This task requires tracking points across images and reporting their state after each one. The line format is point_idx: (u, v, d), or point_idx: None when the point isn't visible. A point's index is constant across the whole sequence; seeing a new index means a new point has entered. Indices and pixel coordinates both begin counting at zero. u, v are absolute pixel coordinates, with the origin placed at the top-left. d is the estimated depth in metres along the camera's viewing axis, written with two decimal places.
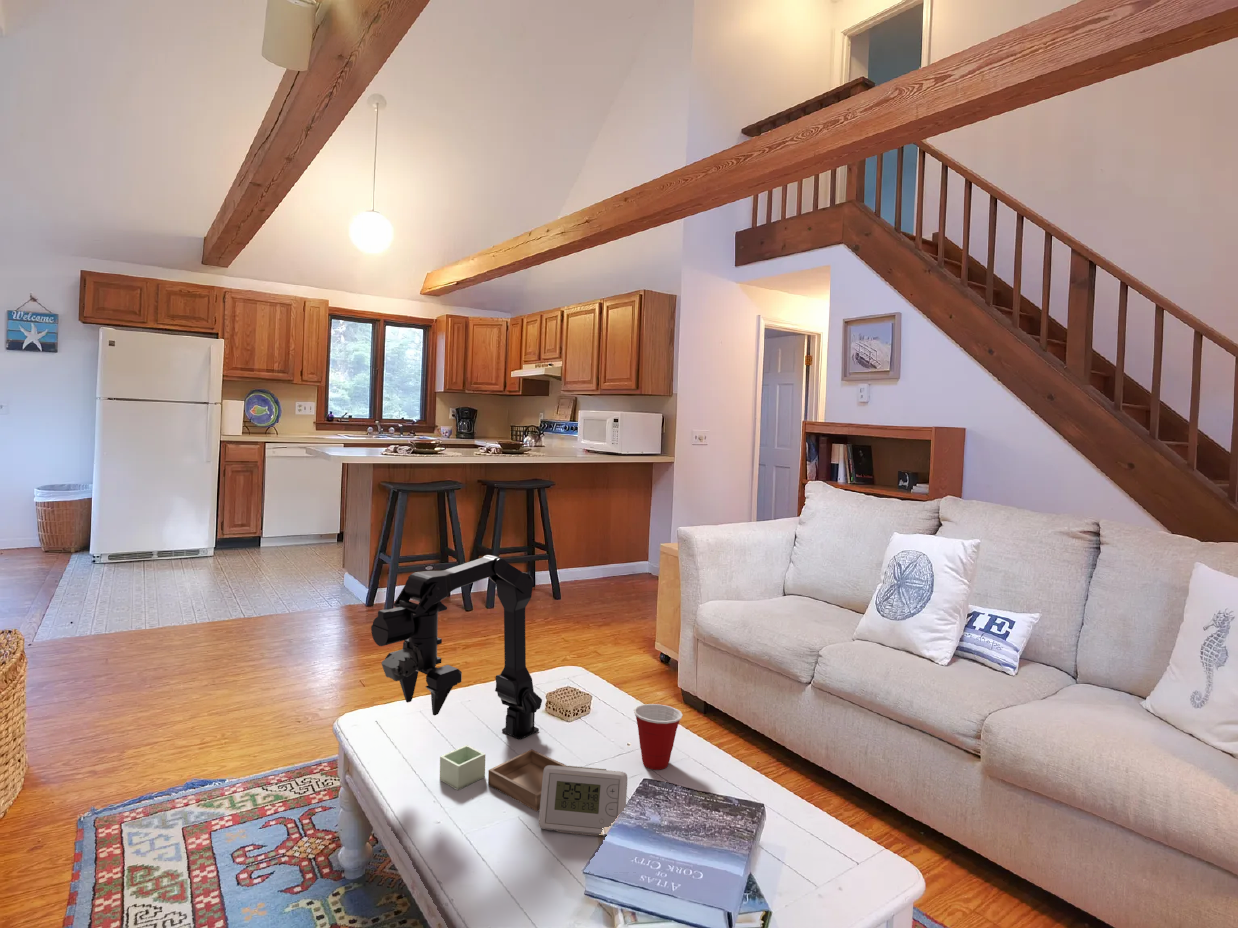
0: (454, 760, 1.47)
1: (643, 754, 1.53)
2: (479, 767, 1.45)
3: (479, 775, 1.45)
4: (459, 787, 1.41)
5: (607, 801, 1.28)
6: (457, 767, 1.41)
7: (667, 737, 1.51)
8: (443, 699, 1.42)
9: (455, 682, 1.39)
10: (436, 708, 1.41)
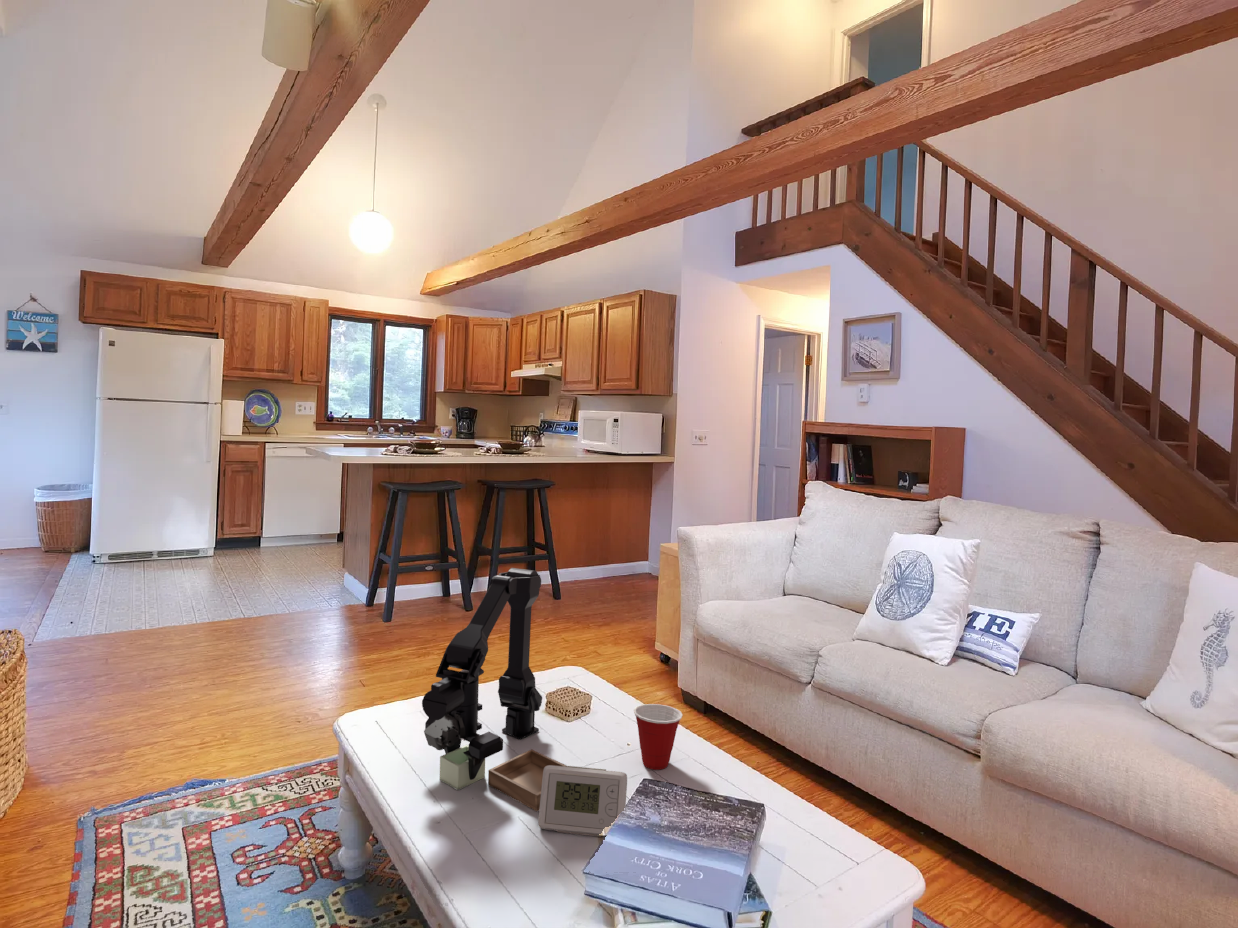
0: (454, 760, 1.47)
1: (643, 754, 1.53)
2: None
3: (479, 775, 1.45)
4: (459, 787, 1.41)
5: (607, 801, 1.28)
6: (457, 767, 1.41)
7: (667, 737, 1.51)
8: (480, 763, 1.43)
9: (497, 750, 1.40)
10: (473, 773, 1.43)
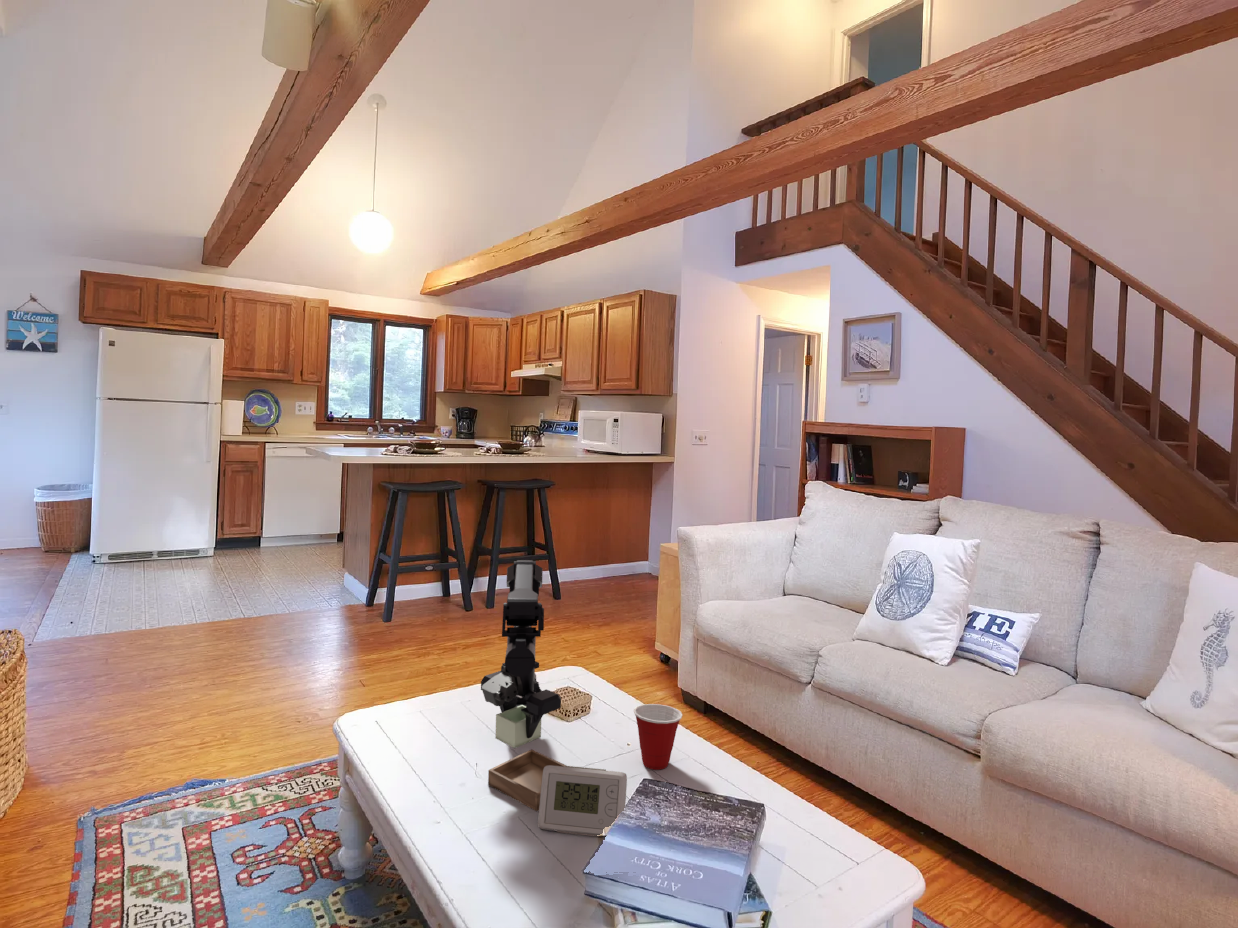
0: (510, 719, 1.44)
1: (643, 754, 1.53)
2: None
3: (535, 734, 1.43)
4: (516, 745, 1.39)
5: (606, 801, 1.28)
6: (514, 724, 1.39)
7: (667, 737, 1.51)
8: (537, 722, 1.41)
9: (555, 708, 1.37)
10: (530, 731, 1.40)
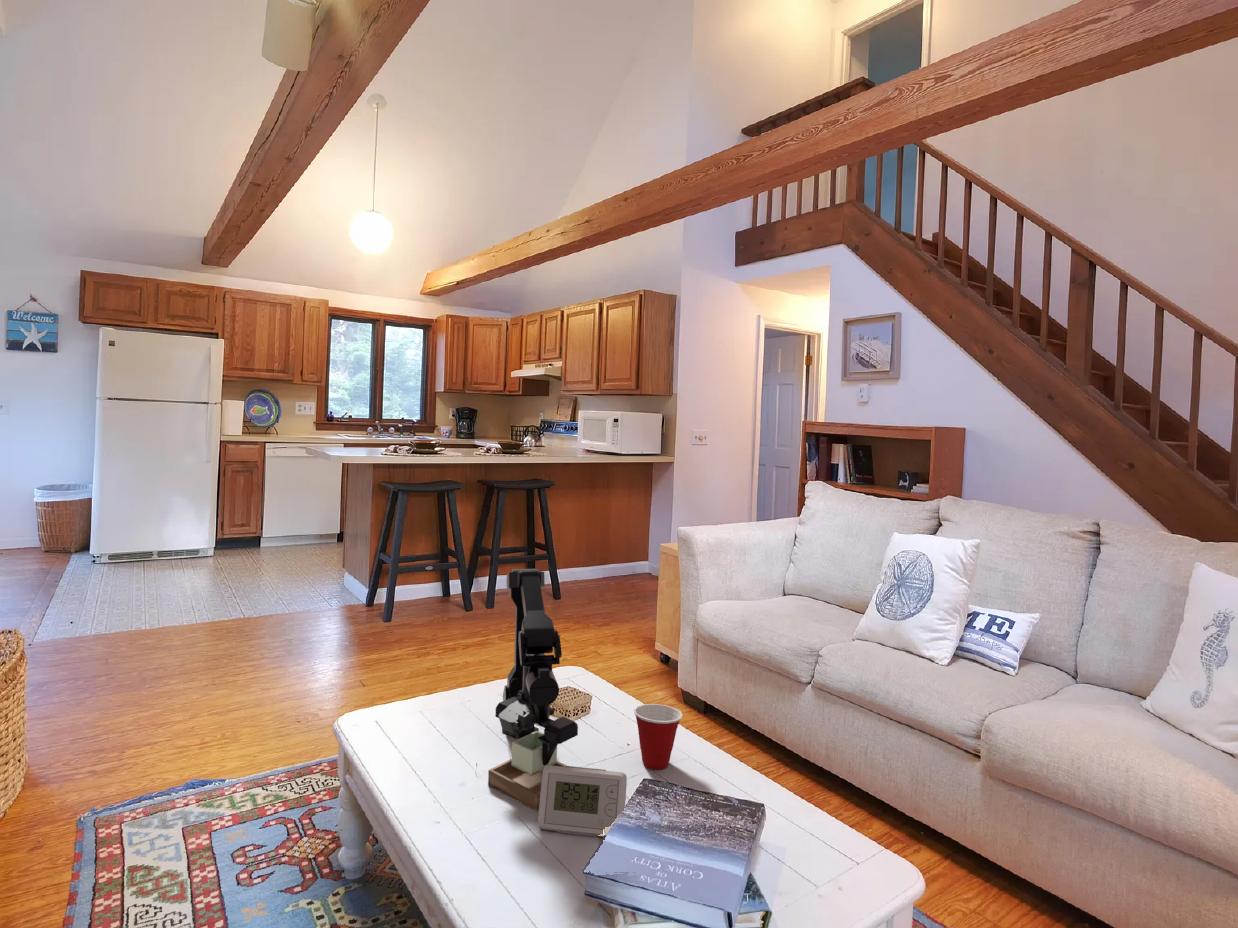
0: (525, 746, 1.44)
1: (643, 754, 1.53)
2: None
3: (551, 761, 1.43)
4: (533, 773, 1.39)
5: (606, 802, 1.28)
6: (531, 752, 1.39)
7: (667, 737, 1.51)
8: (553, 749, 1.41)
9: (572, 735, 1.38)
10: (547, 759, 1.41)
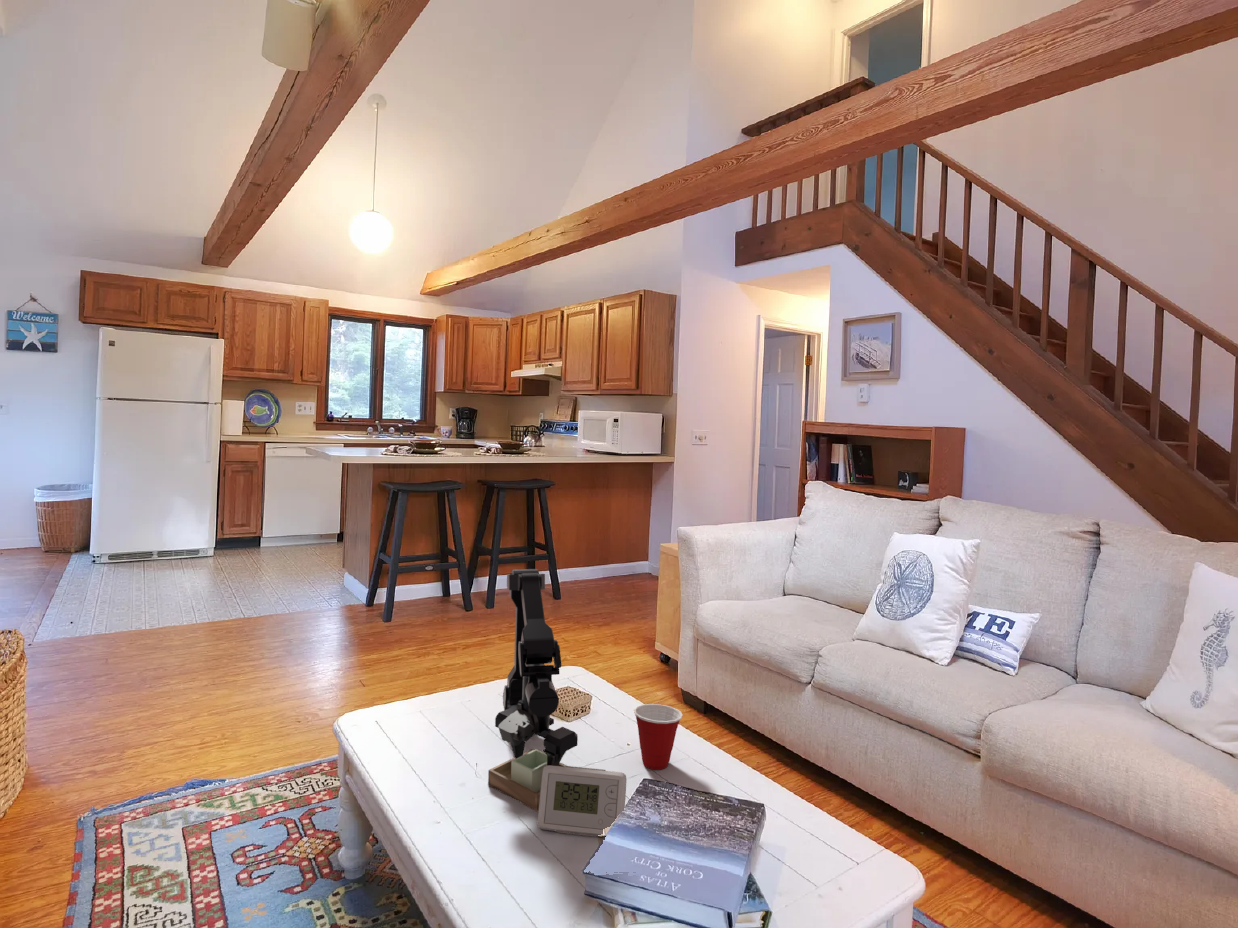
0: (524, 764, 1.45)
1: (643, 754, 1.53)
2: None
3: None
4: None
5: (606, 802, 1.28)
6: (530, 771, 1.39)
7: (667, 737, 1.51)
8: (558, 761, 1.40)
9: (572, 745, 1.38)
10: None
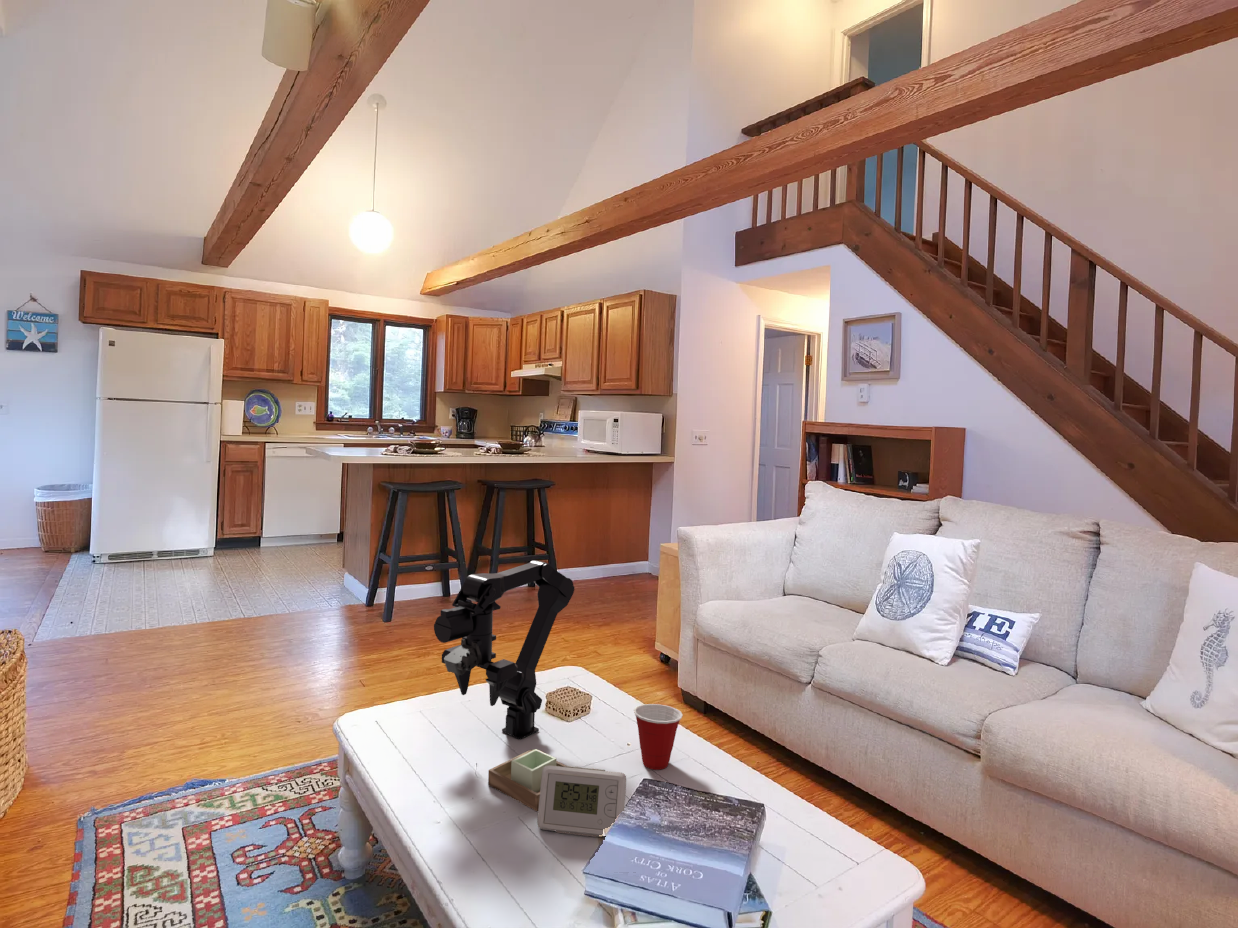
0: (524, 764, 1.45)
1: (643, 754, 1.53)
2: None
3: None
4: None
5: (606, 802, 1.28)
6: (530, 771, 1.39)
7: (667, 737, 1.51)
8: (500, 691, 1.54)
9: (512, 675, 1.51)
10: (494, 699, 1.53)
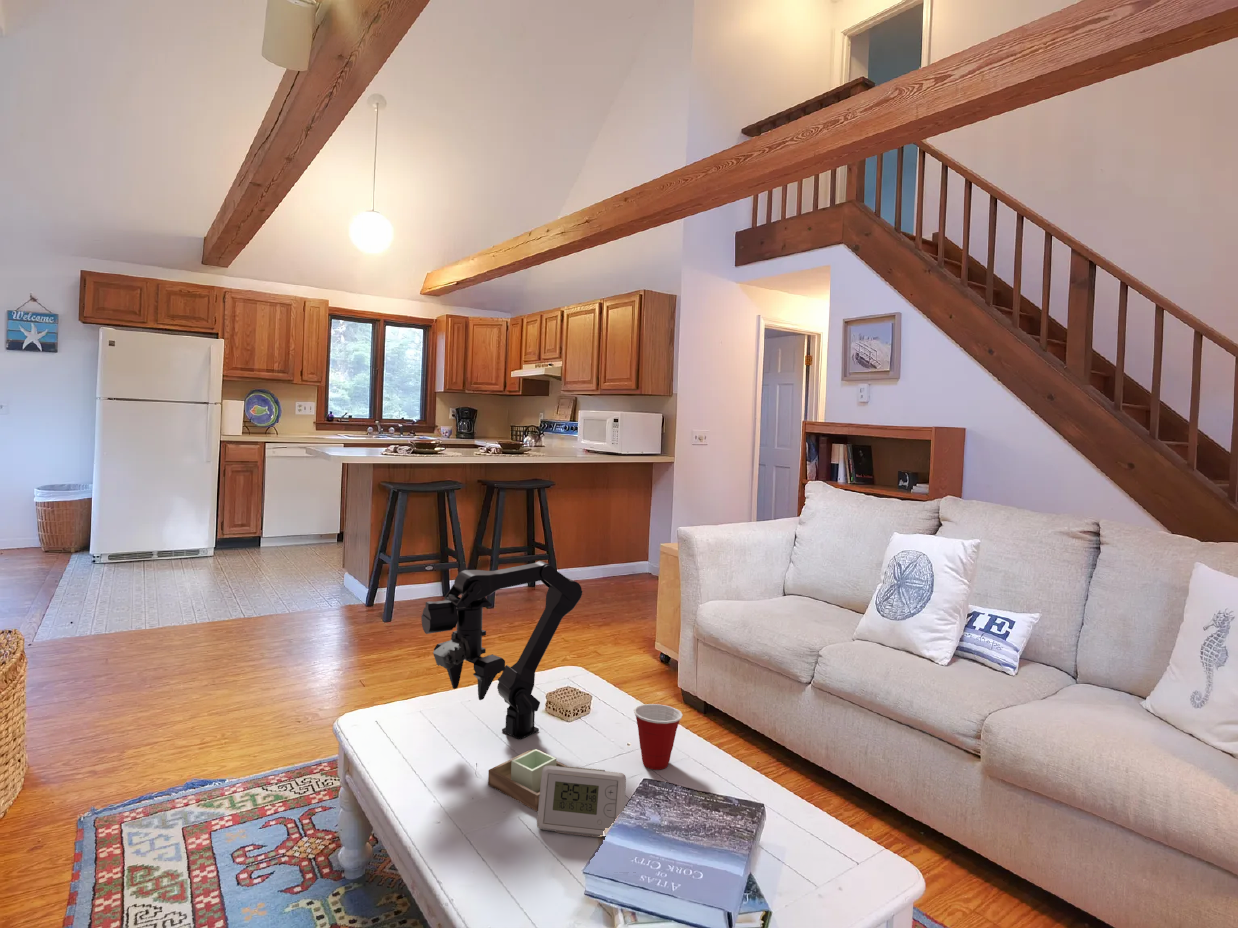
0: (524, 764, 1.45)
1: (643, 754, 1.53)
2: None
3: None
4: None
5: (605, 802, 1.28)
6: (530, 771, 1.39)
7: (667, 737, 1.51)
8: (488, 685, 1.56)
9: (499, 670, 1.54)
10: (482, 694, 1.56)
